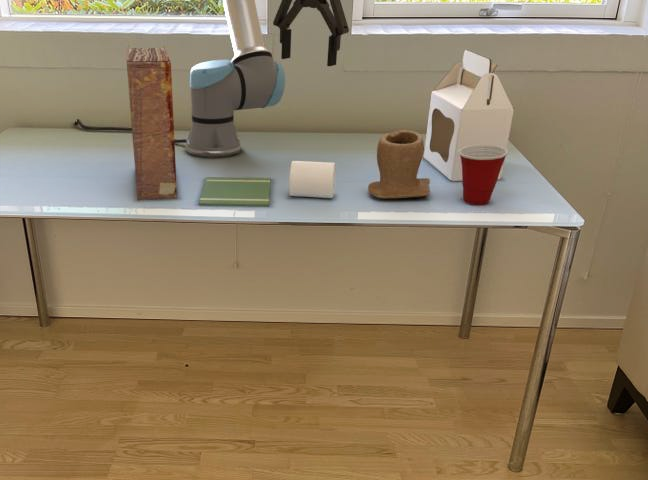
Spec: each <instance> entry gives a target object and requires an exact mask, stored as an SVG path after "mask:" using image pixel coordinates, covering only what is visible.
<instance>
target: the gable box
mask: <svg viewBox="0 0 648 480" xmlns="http://www.w3.org/2000/svg"><path fill="white" fill-rule="evenodd" d="M497 66H498V64H496V63H494V62H493V61H492V59H491V58H489V57H486V56H484V55H481V54H479V53H477V52H474V51H471V50H468V49H465V50H464V52H463V56H462V60H460V61H458V62H456V63H454V65H452V66H451V68H450V69H449V71H448V72H447V73H446V74H445V76H443V78H442V79H441V80H440V82H439V83H438V84H437V86H436V87H434V89H433V90H432V91H431V95H430V103H429V111H428V119H427V127H426V135H425V143H424V153H423V158H424V159H425V160H426V161H427V162H428V163H429V164H431V165H432V166H433V167H434V168H435V169H437V170H438V171H439V172H440V173H441V174H442V175H444V176H445V177H446V178H447V179H448V180H450V181H451V182H462V163H461V156H460V155H459V152H458V151H459V150H460V149H461V148H463V147H466V146H472V145H496V146H501V147H504V148H506V149H507V150H508V144H509V138H510V134H511V129H512V122H513V116H514V112H515V111H514V110H515V108H514V107H513V105H512V103H511V101H510V99H509V97H508V95H507V92H506V90H505V89H504V86H503V84H502V83H501V80H500V78H499V76H498V75H497V74H496V73H494V71H495V70H496V69H497ZM475 76H478V77H480V78H479V80H478V81H476V77H475ZM505 161H506V159H505V160H504V162H503V165H502V167H501V170H500V173H499V176H498V179H497V181H501V179H502V176H503V172H504V166H505Z"/></svg>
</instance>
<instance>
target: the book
mask: <svg viewBox="0 0 648 480" xmlns="http://www.w3.org/2000/svg"><path fill="white" fill-rule="evenodd" d="M168 52H169V51H168V49H167V45H165V44H164V45H163V47H130V46H129V45H126V71H127V83H128V85H127V86H128V96H129V97H128V98H129V109H130V122H131V128H132V131H131V133H132V134H131V136H132V146H133V147H132V148H133V159H134V160H133V161H134V172H135V173H134V174H135V185H136V186H135V187H136V197H137V198H136V199H137V201H150V200H151V201H152V200H177V199H178V187H177V186H178V183H177V166H176V165H177V163H176V162H177V161H176V145H175V144H176V143H175V141H174V139H175V124H174V122H175V121H174V102H173V78H172V63H171V60H170V55H169V53H168Z"/></svg>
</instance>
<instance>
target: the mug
mask: <svg viewBox="0 0 648 480" xmlns="http://www.w3.org/2000/svg"><path fill="white" fill-rule="evenodd" d="M336 171H337V169H336V162H327V161H326V162H323V161H308V160H307V161H306V160H292V161H291V164H290V169H289V179H288V181H289V182H288V188H289V189H288V191H289V192H288V193H289V195H290V196H291V197H305V198H322V199H333V197H334V193H335V185H336Z"/></svg>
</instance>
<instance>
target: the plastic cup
mask: <svg viewBox="0 0 648 480" xmlns="http://www.w3.org/2000/svg"><path fill="white" fill-rule="evenodd" d="M458 152H459V155H460V156H461V163H462V181H461V182H462V183H461V184H462V198H463V199H462V200H463V202H464V203H466V204H469V205H473V206H474V205H475V206H483V205H487V204H489V202H490V200H491V198H492V195H493V192H494V189H495V187H496V184H497V181H498V180H497V179H498V176H499V173H500V170H501V167H502V165H503V162H504V163H505V161H506V157H507V156H508V154H509V150H508V148H507V149H506V148H504V147H501V146H496V145H472V146H466V147H463V148H461V149H460V150H459V151H458ZM504 160H505V161H504Z"/></svg>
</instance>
